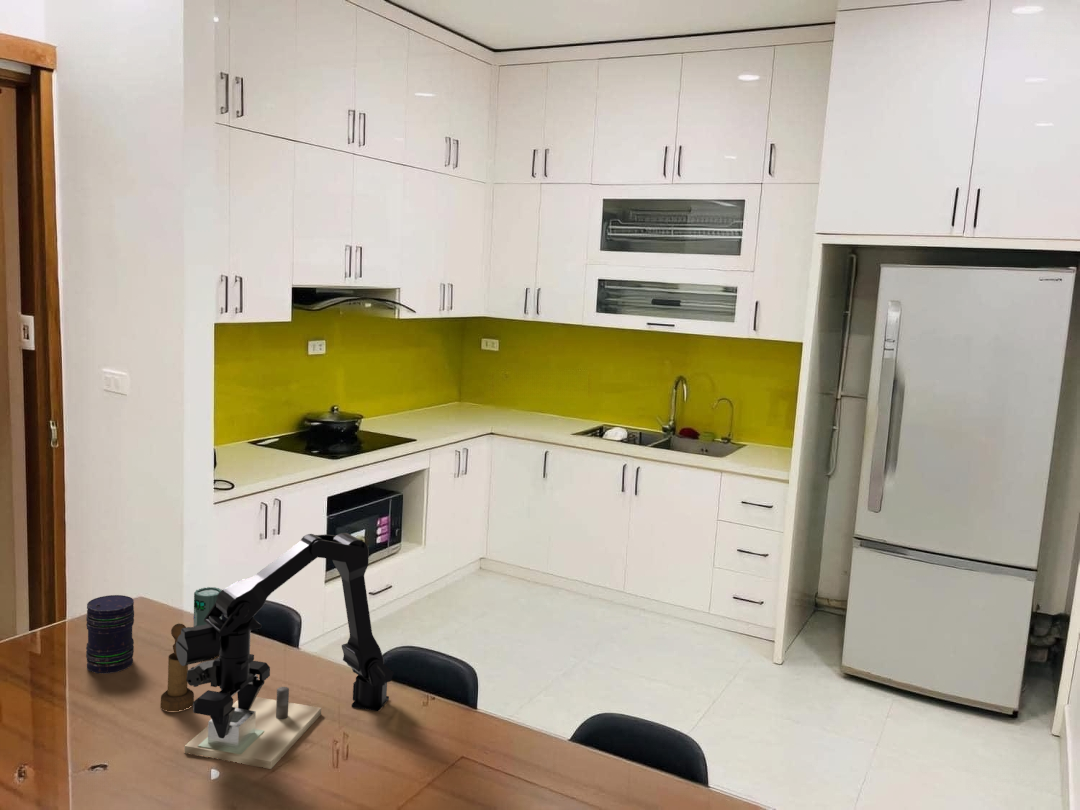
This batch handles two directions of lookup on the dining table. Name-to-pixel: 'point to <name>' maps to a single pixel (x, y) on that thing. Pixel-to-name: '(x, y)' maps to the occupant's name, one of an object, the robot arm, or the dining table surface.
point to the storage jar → (110, 633)
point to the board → (263, 732)
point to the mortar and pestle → (176, 680)
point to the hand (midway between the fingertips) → (232, 727)
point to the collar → (234, 729)
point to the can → (204, 603)
